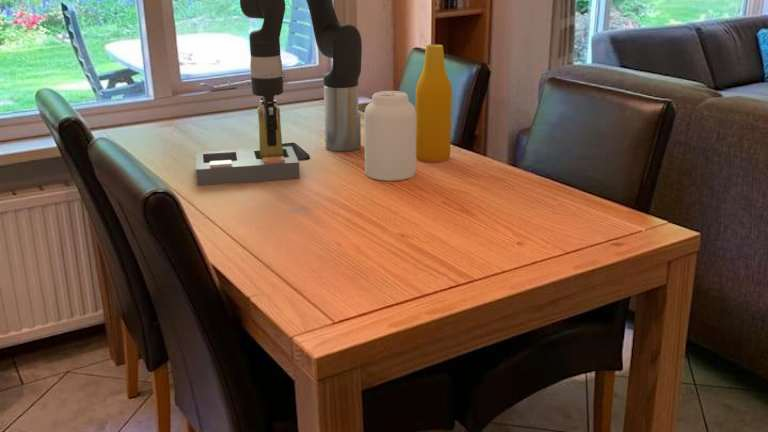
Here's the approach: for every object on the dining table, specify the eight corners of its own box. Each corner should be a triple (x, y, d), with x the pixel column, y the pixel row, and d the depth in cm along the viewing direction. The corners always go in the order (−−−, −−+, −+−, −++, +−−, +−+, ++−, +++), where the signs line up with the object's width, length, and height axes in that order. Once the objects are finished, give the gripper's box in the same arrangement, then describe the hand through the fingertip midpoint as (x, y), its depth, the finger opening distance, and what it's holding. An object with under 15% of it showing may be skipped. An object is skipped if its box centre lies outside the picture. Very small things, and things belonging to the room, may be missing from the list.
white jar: (355, 177, 185) (353, 95, 178) (379, 164, 195) (379, 86, 188) (401, 184, 179) (402, 100, 172) (424, 170, 190) (425, 90, 183)
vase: (271, 169, 187) (268, 111, 182) (254, 164, 191) (250, 108, 186) (289, 163, 192) (286, 106, 187) (271, 159, 195) (268, 103, 190)
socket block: (292, 161, 198) (291, 143, 197) (299, 178, 185) (298, 159, 183) (197, 167, 193) (195, 150, 192) (197, 185, 179) (195, 167, 178)
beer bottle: (410, 161, 198) (411, 47, 188) (420, 152, 206) (421, 42, 196) (445, 164, 195) (447, 49, 185) (453, 154, 203) (457, 43, 193)
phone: (281, 159, 197) (267, 145, 210) (281, 163, 198) (267, 149, 211) (311, 156, 200) (295, 142, 213) (311, 160, 201) (295, 146, 214)
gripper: (285, 78, 177) (289, 149, 183) (279, 68, 191) (282, 134, 197) (253, 80, 176) (257, 151, 182) (248, 69, 189) (253, 136, 195)
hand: (270, 142), depth 189 cm, fingers closed on vase, 5 cm apart
